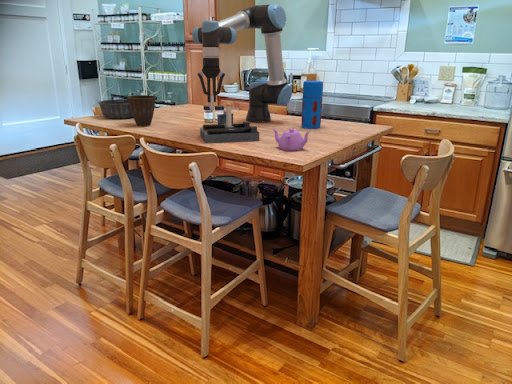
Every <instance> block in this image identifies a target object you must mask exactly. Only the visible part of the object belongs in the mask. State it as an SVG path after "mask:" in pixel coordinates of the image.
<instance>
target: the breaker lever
mask: <svg viewBox="0 0 512 384" xmlns="http://www.w3.org/2000/svg"><path fill="white" fill-rule="evenodd" d="M232 105H233V104H232V103H230V102H225V110H226V126H232V117H231V113H232V107H233V106H232Z"/></svg>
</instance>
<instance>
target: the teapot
mask: <svg viewBox="0 0 512 384" xmlns="http://www.w3.org/2000/svg"><path fill="white" fill-rule="evenodd" d="M272 130H273V133H274V139H275V142H276V143H277V145H278V148H280V150H283V151H285V152H286V151H287V152H297V151H301V150H302V149H303V148H305V146H306V144H307V143H308V139H309V134H310V133H311V132H312V131H306V132H305V134H304V138H303V136H302V134H301V132H300V131H299V130H297V129H294V128H289V129H288V130H284V131H283V133H282V134H281V136H279V132H278V130H277V129H275V128H272Z"/></svg>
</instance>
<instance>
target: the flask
mask: <svg viewBox="0 0 512 384" xmlns="http://www.w3.org/2000/svg"><path fill="white" fill-rule="evenodd" d="M216 117H217V121H216V124H226V109H225V110H223V111H222V113H218V114H216ZM231 117H232V124H234V113H232V112H231Z"/></svg>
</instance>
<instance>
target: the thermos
mask: <svg viewBox="0 0 512 384" xmlns="http://www.w3.org/2000/svg"><path fill="white" fill-rule="evenodd" d="M302 83H303V85H302V105H301V106H302V107H301V128H302V129H307V130H318V129H320V128H321V124H322V109H323V95H324V93H323V92H324V81H321V80H304V81H303V82H302Z"/></svg>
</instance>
